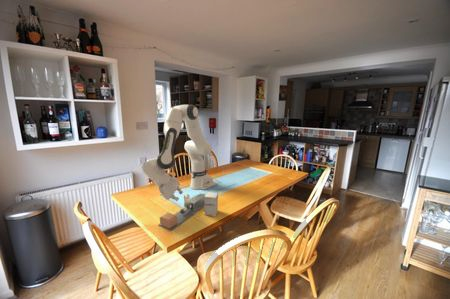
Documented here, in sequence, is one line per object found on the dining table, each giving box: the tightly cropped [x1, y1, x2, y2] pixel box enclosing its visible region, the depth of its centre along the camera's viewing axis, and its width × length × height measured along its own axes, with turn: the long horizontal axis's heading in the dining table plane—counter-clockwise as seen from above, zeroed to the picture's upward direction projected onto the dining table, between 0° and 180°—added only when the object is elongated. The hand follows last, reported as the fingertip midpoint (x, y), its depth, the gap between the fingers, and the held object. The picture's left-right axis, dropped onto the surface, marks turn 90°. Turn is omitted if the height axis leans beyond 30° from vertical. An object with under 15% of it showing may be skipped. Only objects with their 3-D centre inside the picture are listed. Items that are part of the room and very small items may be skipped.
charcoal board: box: [158, 203, 205, 232], centre depth 125 cm, size 37×10×1 cm, turn 150°
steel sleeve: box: [189, 193, 206, 211], centre depth 133 cm, size 14×5×5 cm, turn 150°
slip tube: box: [179, 194, 193, 214], centre depth 129 cm, size 21×4×10 cm, turn 150°
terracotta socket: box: [159, 212, 178, 228], centre depth 112 cm, size 6×8×5 cm
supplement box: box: [204, 191, 219, 217], centre depth 125 cm, size 7×7×13 cm
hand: (180, 196), depth 123 cm, fingers open, 8 cm apart
